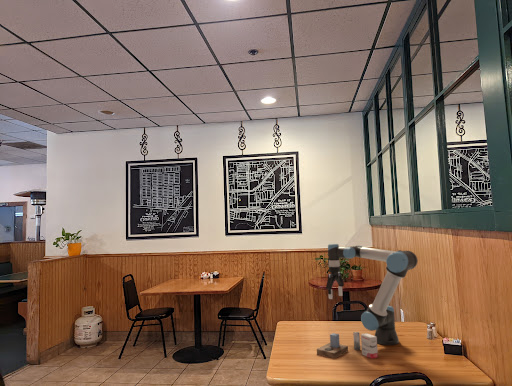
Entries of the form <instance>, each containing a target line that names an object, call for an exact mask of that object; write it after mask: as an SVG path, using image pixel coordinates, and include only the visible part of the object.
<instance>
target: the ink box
mask: <svg viewBox="0 0 512 386" xmlns="http://www.w3.org/2000/svg"><path fill="white" fill-rule="evenodd" d="M360 339H361V340H360V345H361V355H363V357H366V358H370V359H372V360H373V359H376V358H378V357H379V354H378V343H377V337H376V336H375V335H373V334H370V333H361V334H360Z"/></svg>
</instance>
